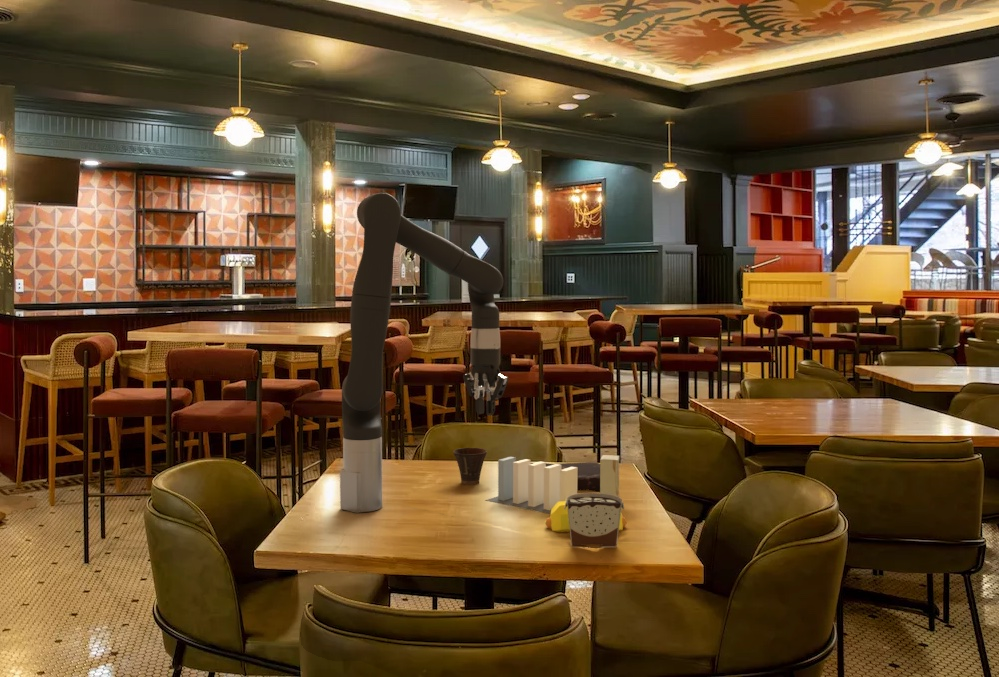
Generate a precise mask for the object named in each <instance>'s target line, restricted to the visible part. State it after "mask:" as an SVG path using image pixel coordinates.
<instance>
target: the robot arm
mask: <svg viewBox="0 0 999 677" xmlns="http://www.w3.org/2000/svg"><path fill="white" fill-rule="evenodd" d="M400 206H401V205H400V203H399V201H398V200H397V199H396V198H395V197H394V196H393V195H391V194H389V193H387V192H379V193H373V194H371V195H369V196H367V197H366V198H363V199H362V201H361V202H360V203H359V204H358V206H357V209H356V217H357V219H358V223H359V225H360V226H361V227H362V228H363V229H364V230H363V231H364V232H363V248H362V254H361V258H360V262H359V264H358V268H357V271H356V274H355V277H354V281H353V285H352V291H351V294H352V295H351V302H350V320H349V321H350V322H349V324H350V338H351V339H350V341H351V354H350V359H349V360H350V361H349V365H348V370H347V371H348V372H347V375H346V376H345V377H344V380H343V381H342V384H341V415H342V418H341V423H342V444H343V445H342V446H343V447H342V453H343V454H342V456H343V457H342V462H343V463H342V466H343V469H340V470H339V482H340V483H339V485H340V486H339V487H340V488H339V490H340V491H339V492H340V493H339V496H340V498H339V499H340V502H339V503H340V506H339V507H340V510H344V511H348V512H352V513H355V514H359V513H366V512H373V511H379V510H380V509H382V508H383V427H382V426H383V425H382V416H381V399H382V396H383V392H384V391H383V390H384V389H383V387H384V386H383V355H384V354H383V353H384V348H385V347H384V346H385V342H386V338H387V332H388V328H389V321H390V320H389V319H390V313H391V312H390V311H391V302H392V292H393V291H392V290H393V289H392V288H393V277H394V276H393V274H394V256H395V248H396V244H398V245H400V246H402V247H404V248H406V249H407V250H408V251H409V250H410V251H411V252H412V253H414V254H416V255H417V256H419V257H420V258H422V259H424V260H425V261H426V262H428V263H430V264H431V265H433V266H434V267H436V268H437V269H439V270H441V271H442V272H444V273H446V274H447V275H448V276H450V277H453V278H455V279H459V280H462V281H464V282H465V283H467V292H468V297H469V305H470V307H471V331H470V364H471V366H472V367H471V370H470V372H468V373H464V374H462V379H463V381H464V383H465V386H466V391H467V393H468V395H469V396H470V397H473V398H474V399H475V411H476V414H477V415H482V414H484V413H485V414H486V416H493V415H494V414H495V412H496V401H497V399H501V398H502V397H503V395H504V393H505V390H506V389H507V388H506V387H507V385H508V382H509V381H510V380H509V376H504V375H503V374H501V370H500V367H499V366H500V365H501V331H500V310H499V307H498V306H497V305H496V304H495V302H496V301H495V294H498V292H500V291H501V290H502V288H503V286H504V277H503V274H502V273H501V271H500V270H498V268H497V267H495V266H493V265H491V264H490V263H489V262H486V261H484V260H482V259H480V258H478V257H476V256H473V255H472V254H469V253H468V252H467V251H466V250H463V248H461V247H459V246H458V245H456V244H455V243H453V242H451V241H449V240H448V239H446V238H444V237H442V236H440V235H438V234H436V233H433V232H431V231H429V230H427V229H425V228H423V227H421V226H419V225H418V224H415V223H414V222H413V221H411V220H410V219H408V218H406V217H405V216H404V215H402V209H401V207H400ZM485 393H486V412H485V398H484V397H485Z"/></svg>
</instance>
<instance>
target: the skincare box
mask: <svg viewBox="0 0 999 677" xmlns="http://www.w3.org/2000/svg"><path fill="white" fill-rule="evenodd" d="M599 462H600V463H599V464H600V492H599V493H603V494H610V495H614V496H617V497H619V498H620V455H615V454H614V455H611V454H610V455H609V454H602V455H601V457H600V460H599Z"/></svg>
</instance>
